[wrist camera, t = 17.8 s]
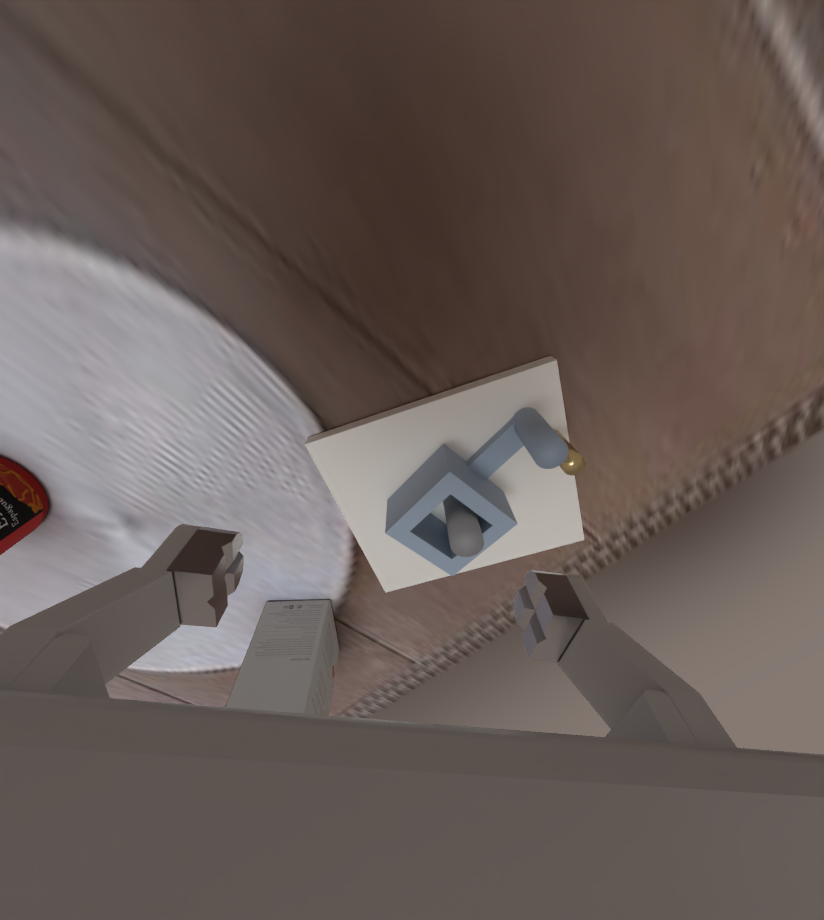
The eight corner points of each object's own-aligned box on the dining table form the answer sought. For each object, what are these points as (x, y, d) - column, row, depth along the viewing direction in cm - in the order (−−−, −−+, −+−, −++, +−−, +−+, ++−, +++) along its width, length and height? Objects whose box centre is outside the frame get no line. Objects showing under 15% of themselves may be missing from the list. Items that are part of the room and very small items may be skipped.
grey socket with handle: (505, 381, 24) (528, 407, 20) (565, 437, 26) (597, 473, 22) (387, 499, 29) (384, 543, 24) (446, 540, 31) (454, 586, 26)
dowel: (540, 432, 26) (561, 459, 23) (559, 426, 26) (584, 452, 22) (543, 449, 27) (564, 477, 23) (562, 443, 27) (586, 471, 23)
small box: (265, 599, 35) (200, 762, 24) (331, 598, 35) (297, 759, 24) (281, 652, 39) (231, 813, 28) (340, 650, 39) (315, 810, 28)
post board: (308, 437, 27) (282, 486, 21) (550, 355, 25) (596, 385, 19) (386, 582, 35) (382, 648, 29) (578, 530, 32) (617, 591, 26)
